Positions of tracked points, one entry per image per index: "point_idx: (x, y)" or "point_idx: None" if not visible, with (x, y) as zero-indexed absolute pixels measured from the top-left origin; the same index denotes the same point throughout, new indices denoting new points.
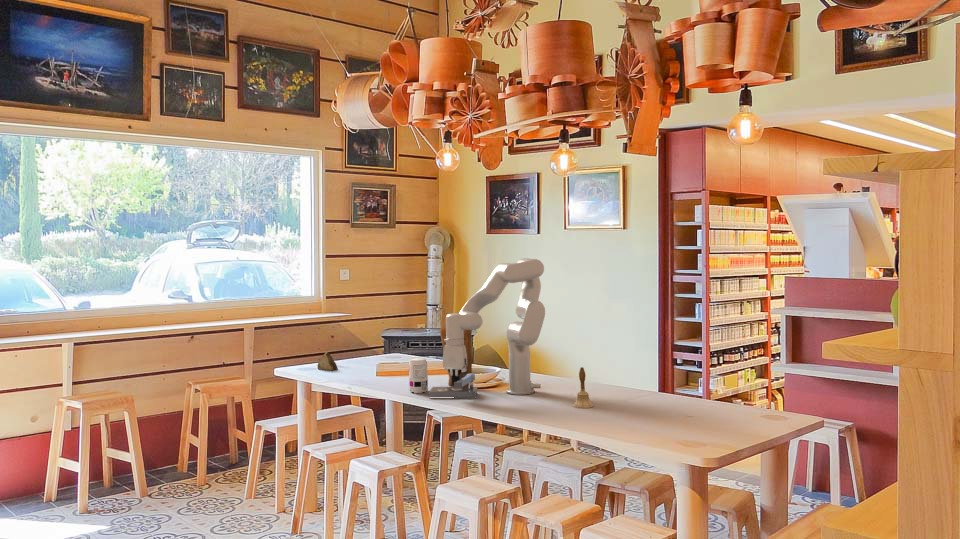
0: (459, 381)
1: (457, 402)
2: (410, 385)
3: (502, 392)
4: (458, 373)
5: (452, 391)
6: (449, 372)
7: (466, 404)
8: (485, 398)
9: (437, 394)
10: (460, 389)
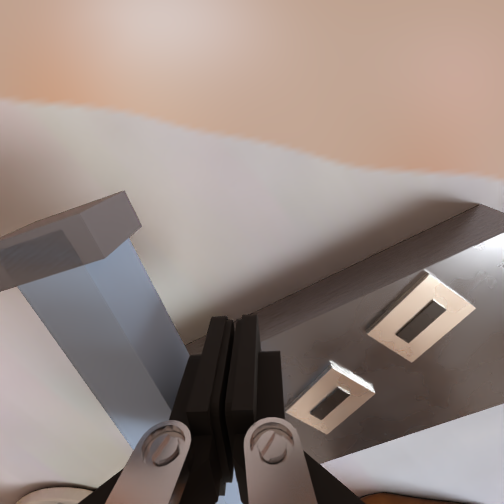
0: (73, 317)
1: (187, 210)
2: None
3: None
4: (122, 487)
5: (311, 327)
6: (346, 488)
7: (81, 191)
8: None
9: (428, 250)
10: (293, 399)
